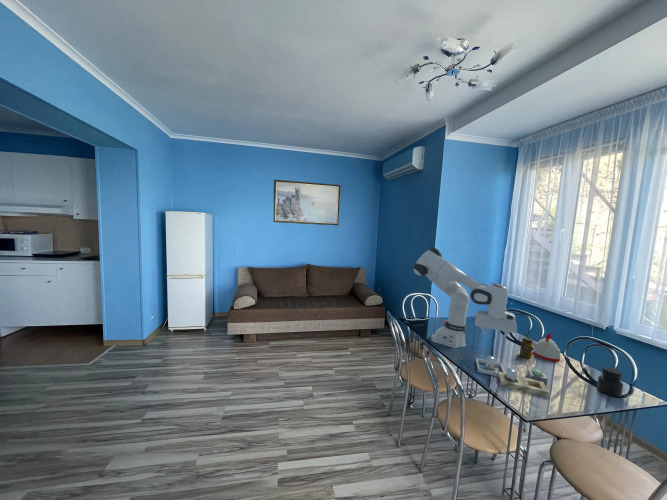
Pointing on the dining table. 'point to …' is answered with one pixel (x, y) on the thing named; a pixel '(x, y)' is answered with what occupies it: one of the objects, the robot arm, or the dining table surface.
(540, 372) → the button
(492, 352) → the dining table surface
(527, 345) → the condiment
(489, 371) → the white square tray
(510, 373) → the silver domed cylinder
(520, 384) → the frame
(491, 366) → the grey metal cylinder
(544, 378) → the button housing
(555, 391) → the dining table surface
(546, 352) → the white red dome
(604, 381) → the ink bottle
